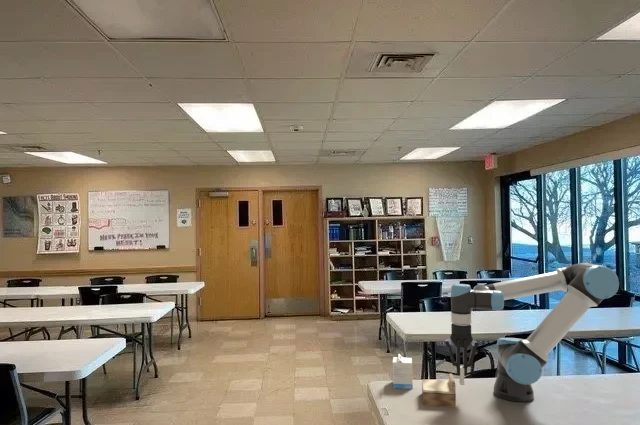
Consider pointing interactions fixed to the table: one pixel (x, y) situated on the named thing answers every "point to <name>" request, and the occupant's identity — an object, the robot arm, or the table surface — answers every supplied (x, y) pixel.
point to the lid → (439, 386)
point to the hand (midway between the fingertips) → (461, 383)
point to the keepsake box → (439, 399)
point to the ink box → (402, 372)
